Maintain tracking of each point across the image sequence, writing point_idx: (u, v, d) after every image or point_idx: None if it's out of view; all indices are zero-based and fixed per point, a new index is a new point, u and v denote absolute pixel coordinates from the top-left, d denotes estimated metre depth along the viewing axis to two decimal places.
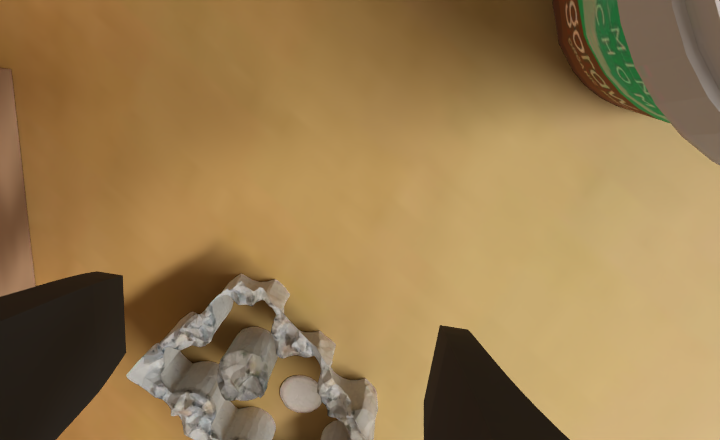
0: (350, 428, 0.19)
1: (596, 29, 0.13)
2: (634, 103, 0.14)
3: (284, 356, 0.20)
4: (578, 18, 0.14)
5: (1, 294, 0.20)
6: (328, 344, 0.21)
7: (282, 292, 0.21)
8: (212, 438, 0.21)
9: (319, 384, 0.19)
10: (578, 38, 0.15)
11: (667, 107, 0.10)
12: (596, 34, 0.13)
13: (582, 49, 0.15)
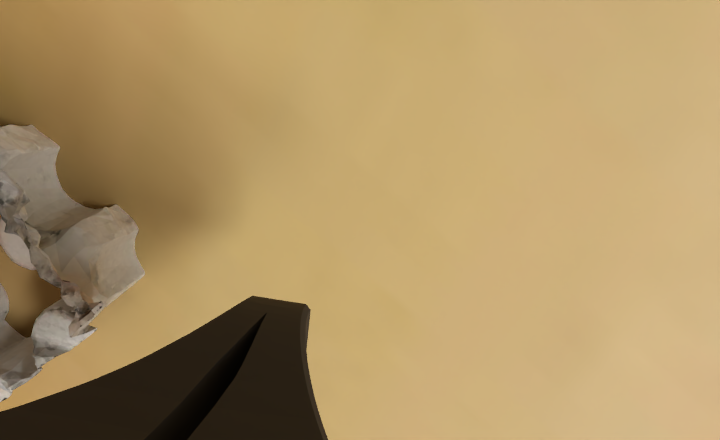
0: (29, 244, 0.12)
1: None
2: None
3: None
4: None
5: None
6: (35, 138, 0.13)
7: None
8: None
9: None
10: None
11: None
12: None
13: None
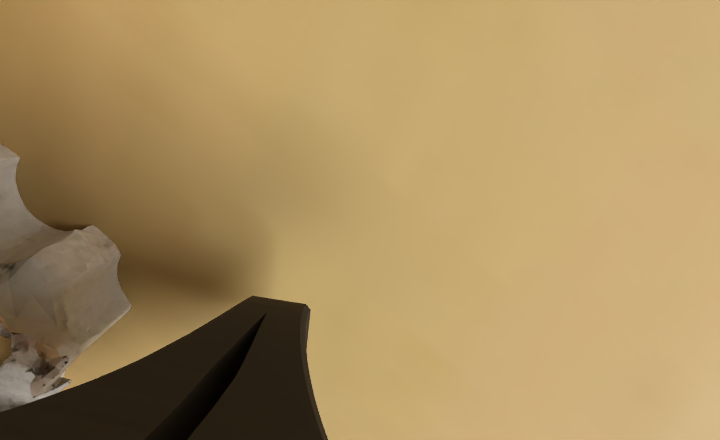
0: None
1: None
2: None
3: None
4: None
5: None
6: None
7: None
8: None
9: None
10: None
11: None
12: None
13: None
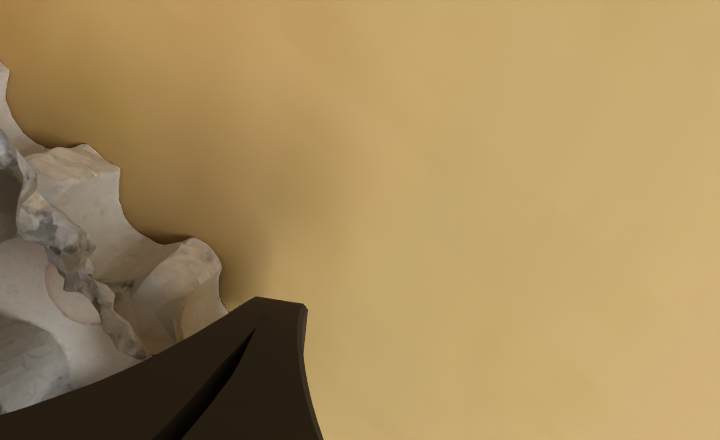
0: (100, 306, 0.08)
1: None
2: None
3: None
4: None
5: None
6: (89, 162, 0.10)
7: None
8: None
9: (16, 213, 0.08)
10: None
11: None
12: None
13: None
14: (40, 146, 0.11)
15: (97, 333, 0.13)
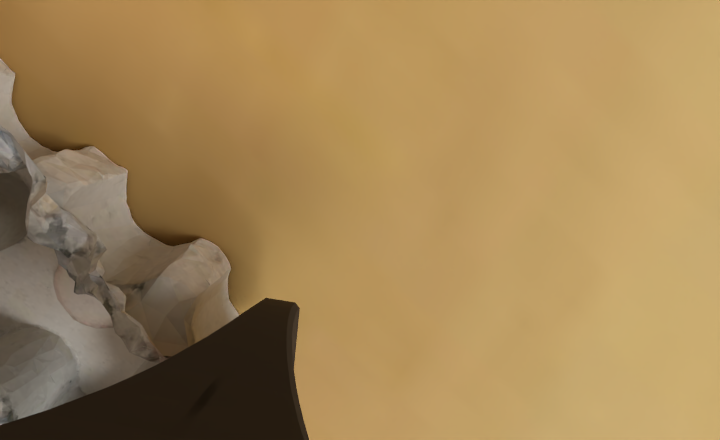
0: (111, 308, 0.08)
1: None
2: None
3: None
4: None
5: None
6: (96, 164, 0.10)
7: None
8: None
9: (26, 216, 0.08)
10: None
11: None
12: None
13: None
14: (47, 149, 0.11)
15: (107, 336, 0.13)
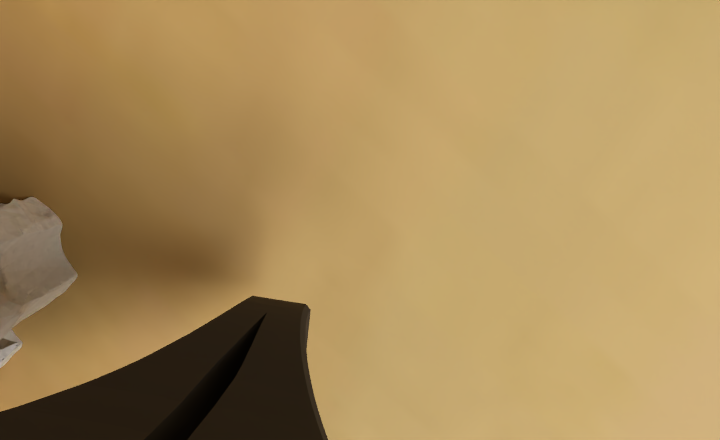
0: None
1: None
2: None
3: None
4: None
5: None
6: None
7: None
8: None
9: None
10: None
11: None
12: None
13: None
14: None
15: None
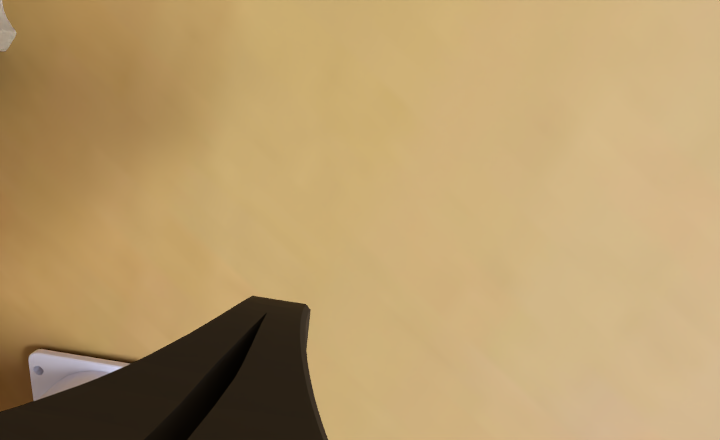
0: None
1: None
2: None
3: None
4: None
5: None
6: None
7: None
8: None
9: None
10: None
11: None
12: None
13: None
14: None
15: None
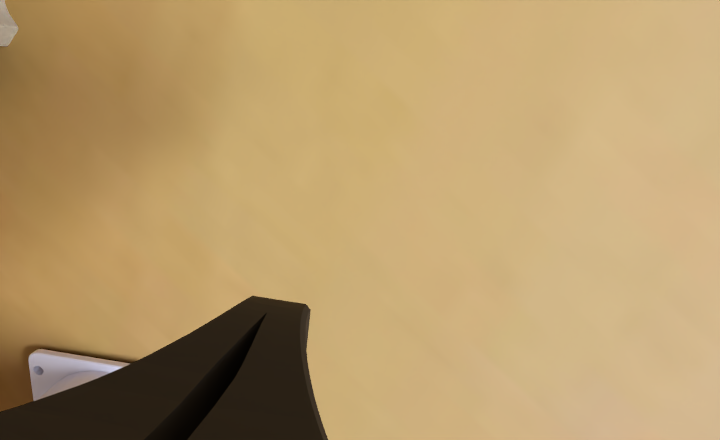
0: None
1: None
2: None
3: None
4: None
5: None
6: None
7: None
8: None
9: None
10: None
11: None
12: None
13: None
14: None
15: None
